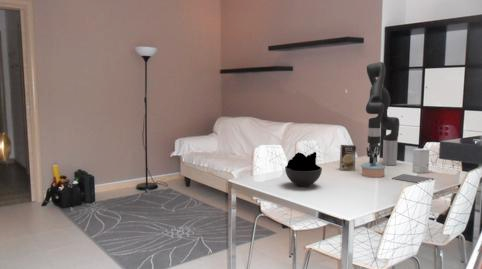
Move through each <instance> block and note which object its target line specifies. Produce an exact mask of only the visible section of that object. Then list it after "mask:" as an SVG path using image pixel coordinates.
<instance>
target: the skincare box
mask: <svg viewBox="0 0 482 269" xmlns="http://www.w3.org/2000/svg"><path fill="white" fill-rule="evenodd" d="M412 150H413V151H412V166H411V167H412V168H411V169H412V172H414V173H417V174H423V173H429V165H430V163H429V162H430V149H429V148H413V149H412Z"/></svg>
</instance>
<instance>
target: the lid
mask: <svg viewBox="0 0 482 269" xmlns="http://www.w3.org/2000/svg"><path fill="white" fill-rule="evenodd" d="M360 167H361V169H362V168H366V169H376V170H378V169H384V170H385V169H386V165H384V164H381V163H377V162H376V157H373V164H371V163H369V162H368V163H362V164H361V165H360Z"/></svg>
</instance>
